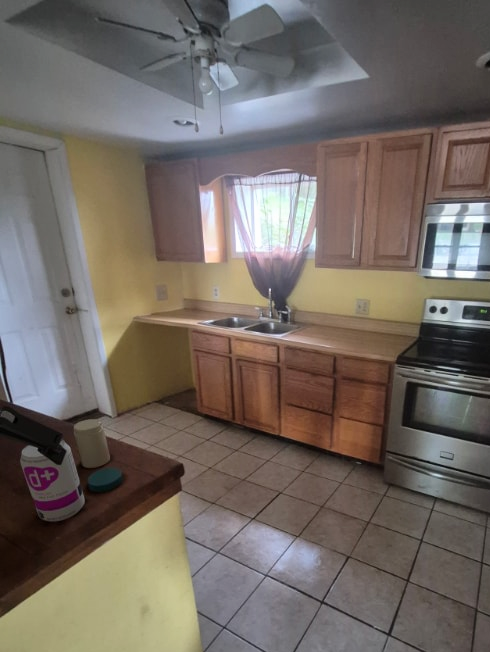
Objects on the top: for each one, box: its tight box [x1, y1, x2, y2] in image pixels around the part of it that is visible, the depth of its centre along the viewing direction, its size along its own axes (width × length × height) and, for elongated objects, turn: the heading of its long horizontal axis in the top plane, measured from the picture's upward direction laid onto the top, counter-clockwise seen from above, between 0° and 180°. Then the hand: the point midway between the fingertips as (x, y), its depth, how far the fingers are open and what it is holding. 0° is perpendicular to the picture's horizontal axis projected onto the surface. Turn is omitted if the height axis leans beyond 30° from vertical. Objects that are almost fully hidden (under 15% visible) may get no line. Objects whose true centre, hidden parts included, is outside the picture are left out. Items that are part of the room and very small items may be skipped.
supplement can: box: [19, 439, 86, 522], centre depth 74 cm, size 8×8×15 cm
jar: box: [73, 418, 111, 469], centre depth 92 cm, size 6×6×10 cm
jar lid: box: [87, 467, 124, 493], centre depth 85 cm, size 7×7×2 cm
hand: (22, 454), depth 65 cm, fingers open, 13 cm apart
